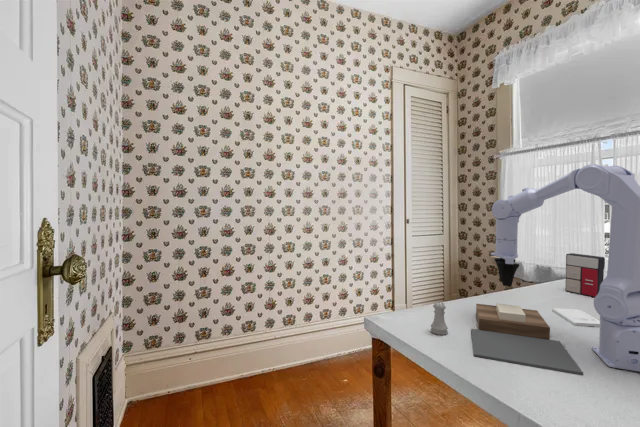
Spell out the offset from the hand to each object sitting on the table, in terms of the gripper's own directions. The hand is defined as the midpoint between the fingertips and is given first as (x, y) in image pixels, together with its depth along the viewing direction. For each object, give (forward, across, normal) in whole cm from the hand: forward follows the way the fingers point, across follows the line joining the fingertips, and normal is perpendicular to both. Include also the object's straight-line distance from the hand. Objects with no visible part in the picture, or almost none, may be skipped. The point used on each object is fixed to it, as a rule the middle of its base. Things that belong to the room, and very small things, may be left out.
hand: (505, 283), depth 96 cm
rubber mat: (+10, +23, 0) cm, 26 cm away
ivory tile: (+7, +10, 0) cm, 12 cm away
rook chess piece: (+11, +20, -18) cm, 29 cm away
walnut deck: (+10, +8, 0) cm, 13 cm away
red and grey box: (+11, -40, +31) cm, 52 cm away
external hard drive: (+11, -7, +20) cm, 24 cm away
